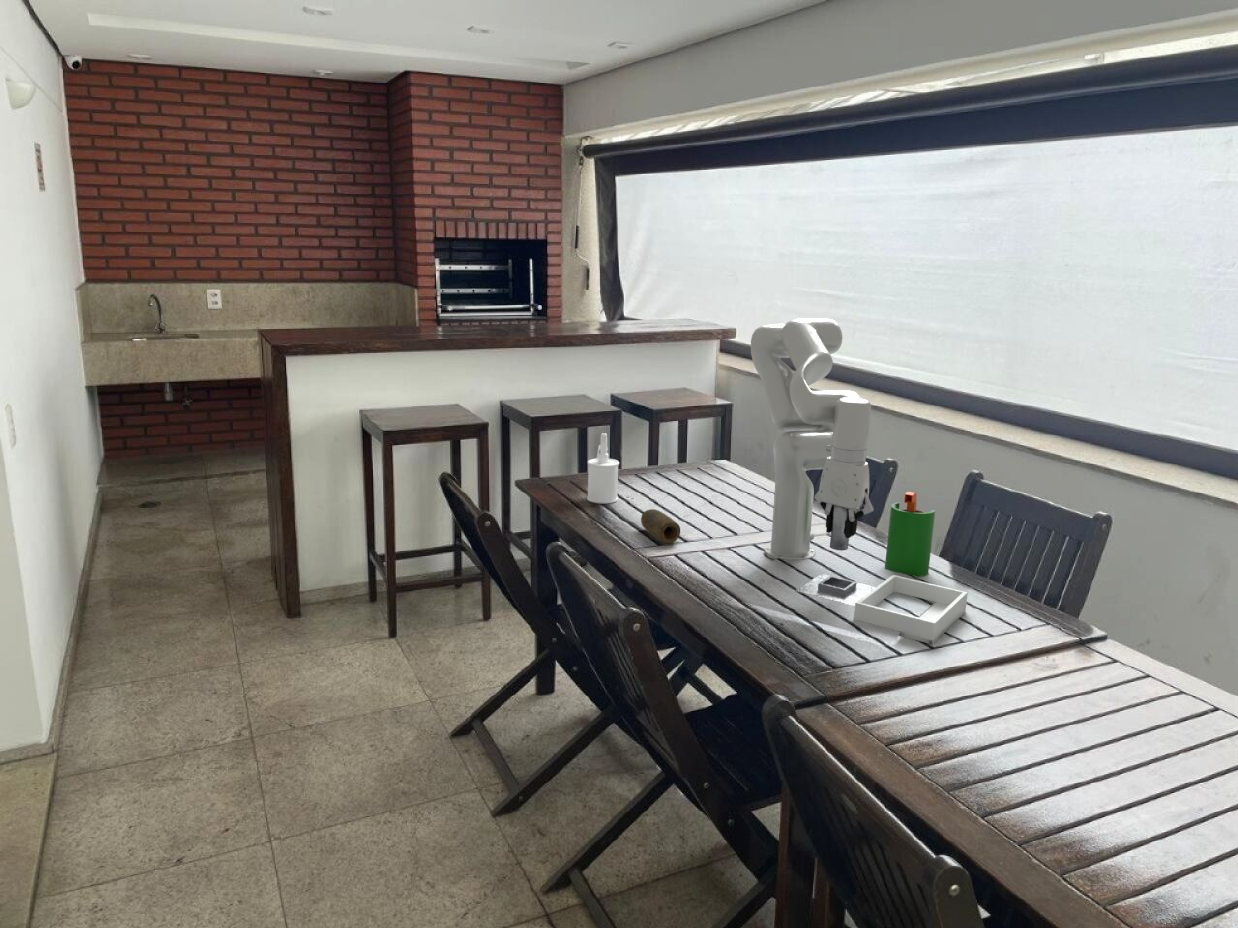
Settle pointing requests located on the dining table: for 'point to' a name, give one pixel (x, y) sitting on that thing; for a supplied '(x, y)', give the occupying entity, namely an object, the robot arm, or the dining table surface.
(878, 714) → the dining table surface
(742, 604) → the dining table surface
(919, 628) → the bin
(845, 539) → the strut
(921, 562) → the motor
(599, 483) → the white spout bottle
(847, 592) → the socket plate
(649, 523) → the stone weight
